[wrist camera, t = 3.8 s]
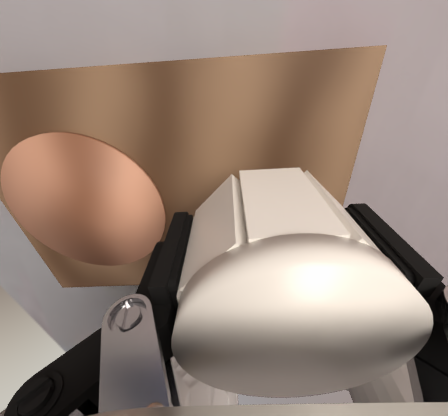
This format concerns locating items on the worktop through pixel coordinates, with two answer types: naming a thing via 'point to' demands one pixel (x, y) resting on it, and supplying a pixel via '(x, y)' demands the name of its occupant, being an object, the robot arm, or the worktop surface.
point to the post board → (167, 145)
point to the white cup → (200, 390)
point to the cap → (290, 293)
